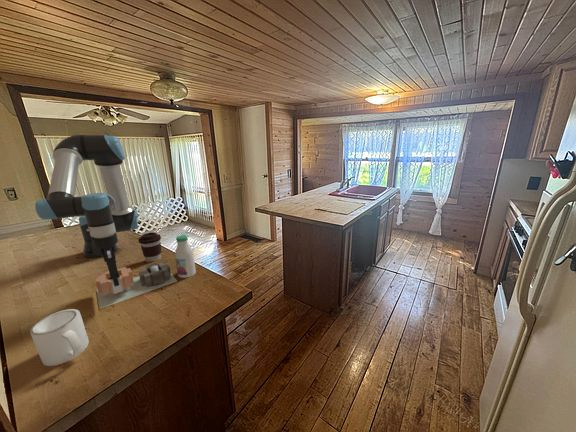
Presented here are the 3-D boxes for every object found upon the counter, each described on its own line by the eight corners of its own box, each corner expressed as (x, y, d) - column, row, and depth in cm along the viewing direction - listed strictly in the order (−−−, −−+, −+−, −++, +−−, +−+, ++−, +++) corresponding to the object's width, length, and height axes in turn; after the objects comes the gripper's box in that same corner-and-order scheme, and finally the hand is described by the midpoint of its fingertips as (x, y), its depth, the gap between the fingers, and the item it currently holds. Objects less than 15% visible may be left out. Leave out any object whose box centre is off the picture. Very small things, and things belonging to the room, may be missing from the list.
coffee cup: (155, 266, 116) (150, 239, 111) (138, 264, 118) (132, 237, 113) (168, 257, 125) (164, 231, 121) (153, 255, 127) (148, 230, 123)
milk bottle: (192, 270, 113) (187, 232, 107) (198, 276, 107) (193, 236, 101) (175, 276, 107) (169, 236, 102) (182, 282, 102) (175, 241, 96)
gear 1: (97, 285, 93) (94, 274, 91) (130, 275, 100) (128, 264, 98) (99, 298, 84) (96, 286, 83) (135, 286, 92) (133, 275, 90)
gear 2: (138, 278, 102) (136, 268, 101) (166, 269, 110) (164, 260, 108) (144, 289, 94) (142, 279, 93) (173, 279, 102) (172, 269, 100)
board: (97, 292, 95) (92, 276, 93) (167, 270, 112) (164, 256, 110) (100, 312, 84) (95, 294, 82) (177, 284, 101) (175, 269, 99)
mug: (103, 345, 70) (95, 317, 67) (61, 375, 61) (49, 343, 58) (76, 333, 75) (67, 305, 71) (34, 358, 65) (21, 328, 62)
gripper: (89, 229, 92) (102, 276, 98) (92, 247, 75) (107, 303, 81) (112, 224, 97) (123, 270, 103) (120, 241, 80) (132, 294, 86)
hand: (116, 285), depth 92 cm, fingers closed on gear 1, 11 cm apart
